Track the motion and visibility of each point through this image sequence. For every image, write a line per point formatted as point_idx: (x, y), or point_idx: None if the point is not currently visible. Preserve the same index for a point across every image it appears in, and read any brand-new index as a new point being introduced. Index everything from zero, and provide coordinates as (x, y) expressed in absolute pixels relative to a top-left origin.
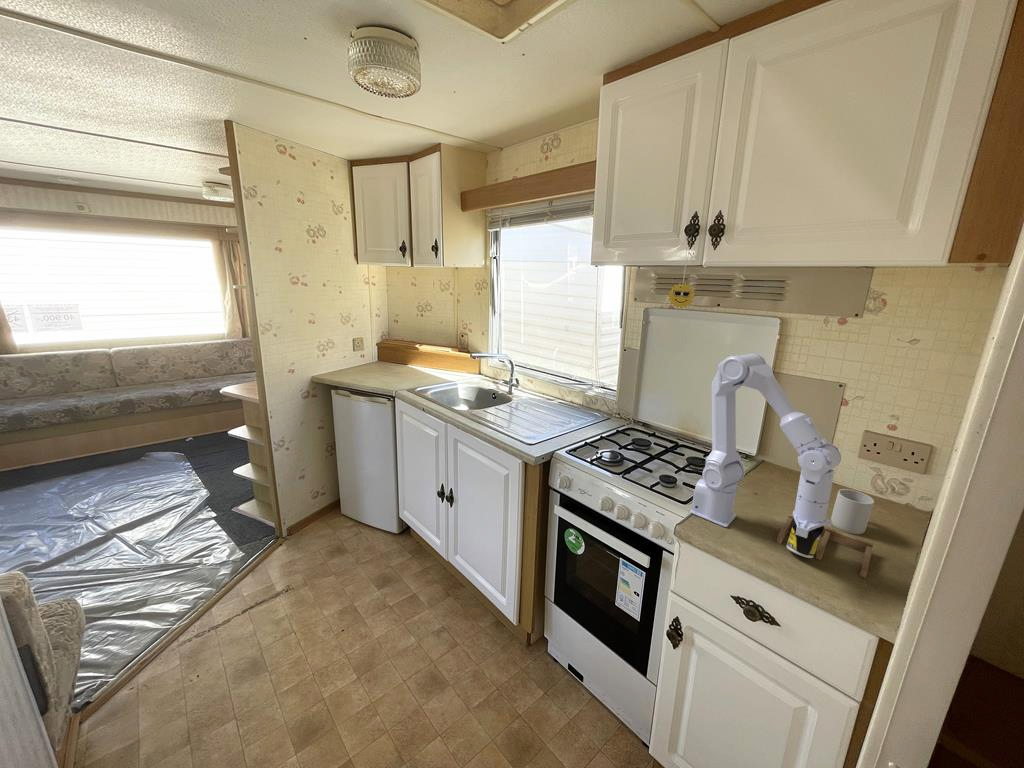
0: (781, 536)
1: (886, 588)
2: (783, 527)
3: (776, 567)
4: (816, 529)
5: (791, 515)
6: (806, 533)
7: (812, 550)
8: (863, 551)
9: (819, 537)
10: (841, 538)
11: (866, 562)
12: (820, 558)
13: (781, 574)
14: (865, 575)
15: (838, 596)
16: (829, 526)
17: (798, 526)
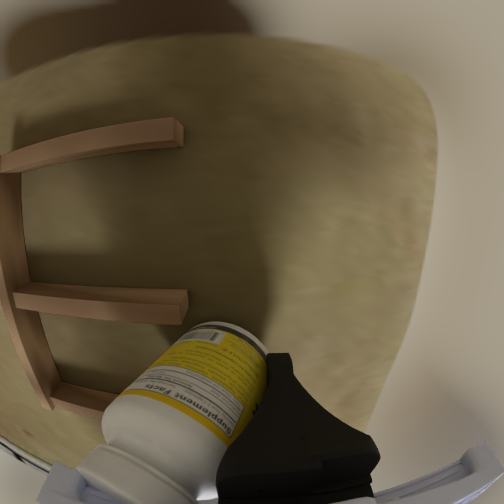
0: None
1: (202, 63)
2: None
3: (361, 379)
4: (323, 476)
5: (43, 403)
6: (493, 459)
7: (243, 352)
8: (18, 176)
9: (182, 380)
10: (10, 252)
11: (107, 135)
12: (186, 294)
13: (389, 359)
14: (181, 126)
15: (399, 201)
16: (370, 497)
17: (476, 496)
